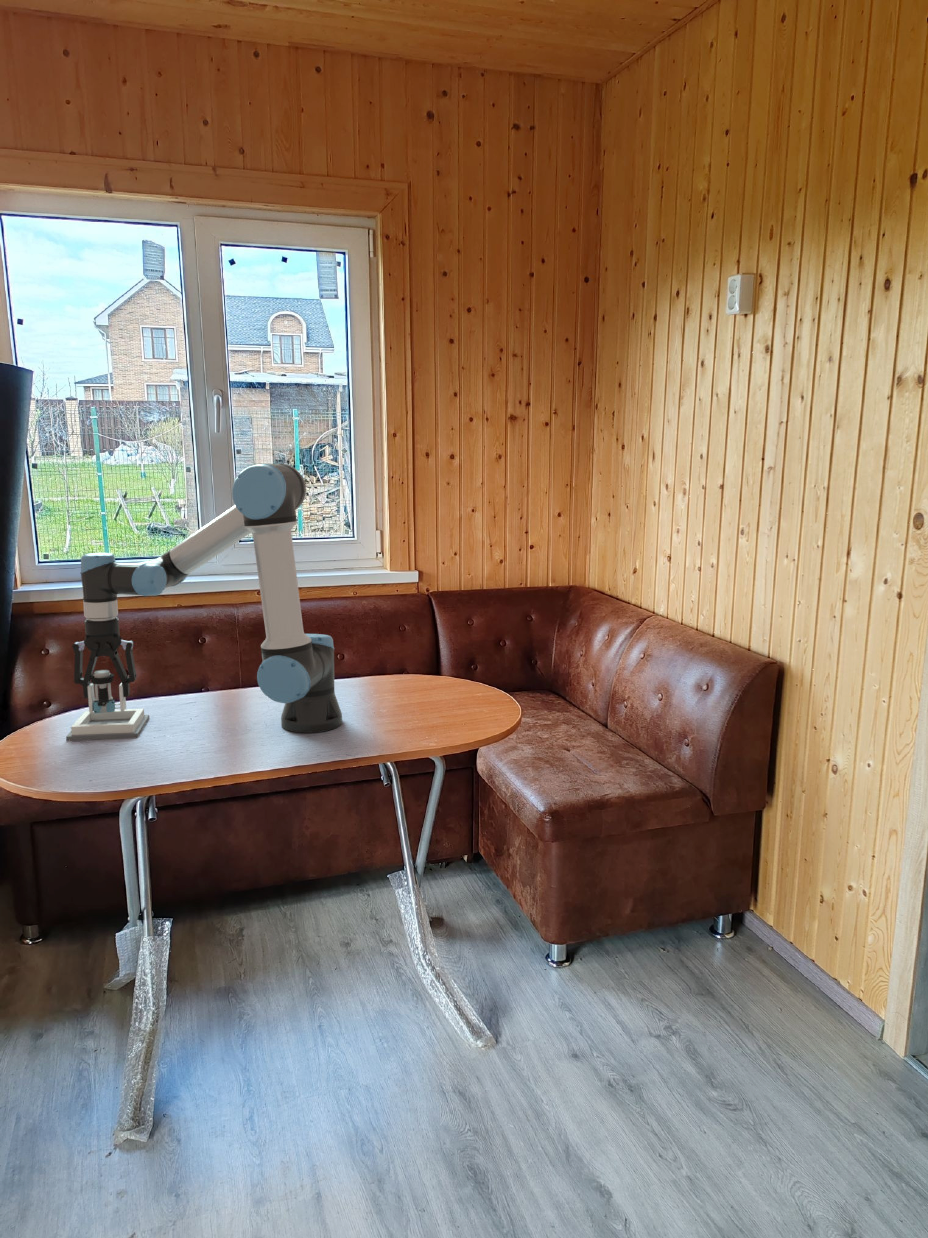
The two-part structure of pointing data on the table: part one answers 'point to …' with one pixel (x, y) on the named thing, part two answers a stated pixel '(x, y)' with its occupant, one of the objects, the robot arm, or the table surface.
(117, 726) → the socket plate
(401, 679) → the table surface
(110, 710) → the push button
